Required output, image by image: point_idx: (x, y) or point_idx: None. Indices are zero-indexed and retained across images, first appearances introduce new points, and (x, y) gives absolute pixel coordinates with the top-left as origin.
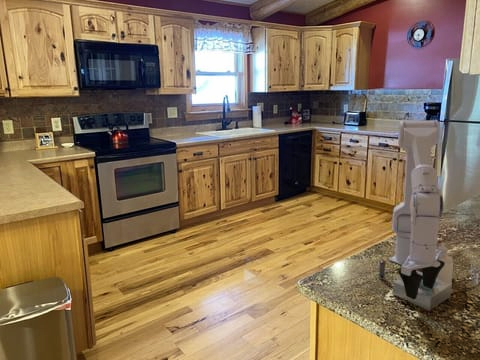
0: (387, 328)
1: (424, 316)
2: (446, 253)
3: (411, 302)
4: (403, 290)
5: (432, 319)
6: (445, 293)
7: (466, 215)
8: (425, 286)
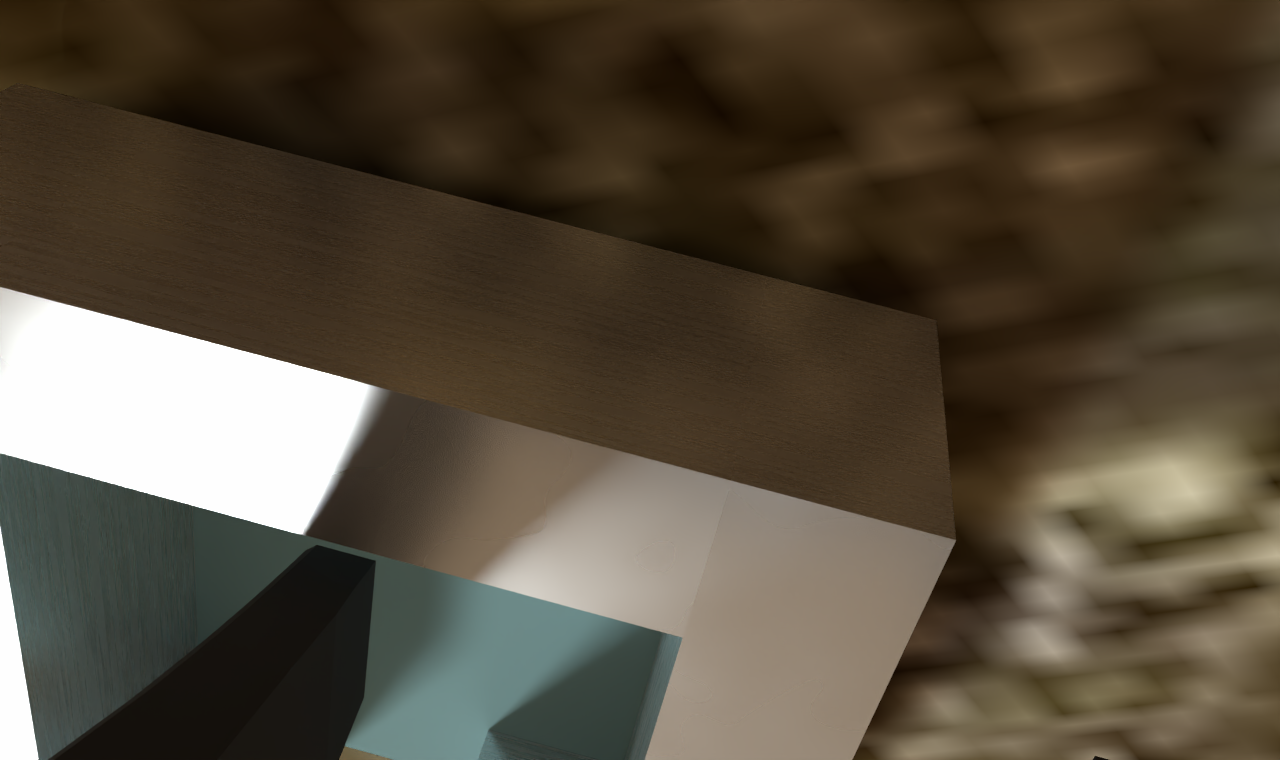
0: None
1: (1156, 348)
2: None
3: None
4: None
5: (1207, 191)
6: (193, 228)
7: None
8: (361, 665)
